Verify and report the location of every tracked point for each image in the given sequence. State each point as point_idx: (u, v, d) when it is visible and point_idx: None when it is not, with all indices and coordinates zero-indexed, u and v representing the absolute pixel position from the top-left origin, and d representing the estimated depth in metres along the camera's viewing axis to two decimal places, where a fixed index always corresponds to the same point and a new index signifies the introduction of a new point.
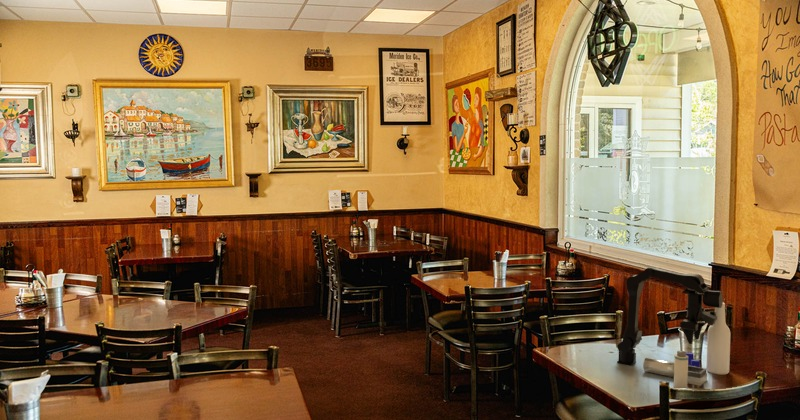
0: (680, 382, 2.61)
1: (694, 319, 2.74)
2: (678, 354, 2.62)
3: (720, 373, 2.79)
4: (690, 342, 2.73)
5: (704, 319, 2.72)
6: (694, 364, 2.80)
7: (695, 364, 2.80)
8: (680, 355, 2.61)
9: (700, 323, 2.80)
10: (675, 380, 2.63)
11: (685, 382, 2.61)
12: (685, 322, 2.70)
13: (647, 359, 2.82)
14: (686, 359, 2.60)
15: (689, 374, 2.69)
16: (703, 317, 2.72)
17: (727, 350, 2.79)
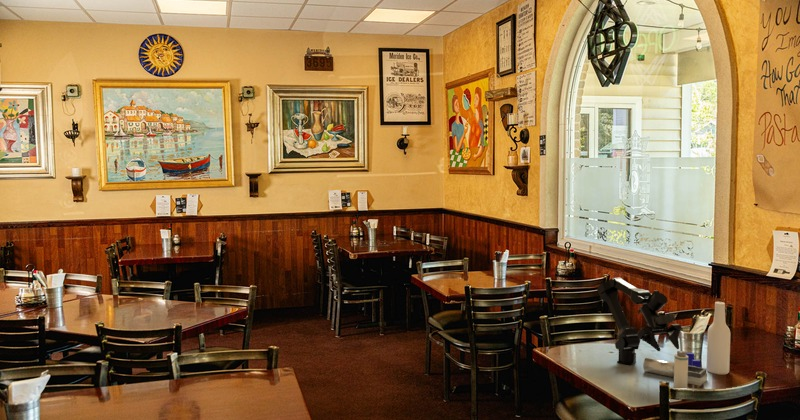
0: (680, 382, 2.61)
1: (653, 327, 2.75)
2: (678, 354, 2.62)
3: (720, 373, 2.79)
4: (658, 348, 2.69)
5: (658, 322, 2.72)
6: (695, 364, 2.80)
7: (696, 364, 2.80)
8: (680, 355, 2.61)
9: (673, 332, 2.75)
10: (675, 380, 2.63)
11: (685, 382, 2.61)
12: None
13: (647, 359, 2.82)
14: (686, 359, 2.60)
15: (689, 374, 2.69)
16: (656, 320, 2.73)
17: (727, 350, 2.79)
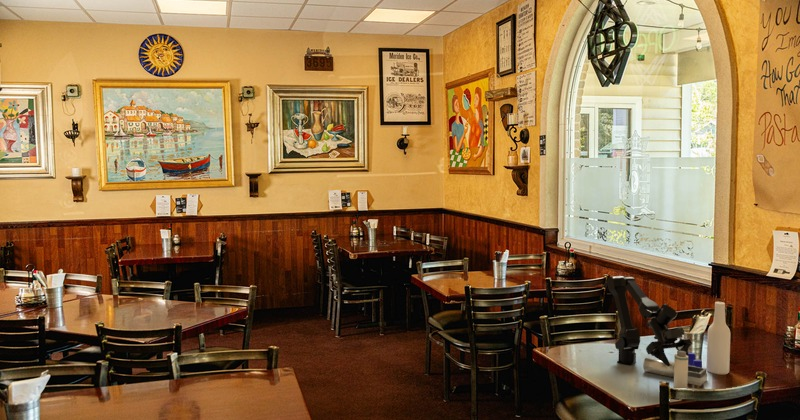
0: (680, 382, 2.61)
1: (662, 342, 2.69)
2: (678, 354, 2.62)
3: (720, 373, 2.79)
4: (668, 363, 2.63)
5: (667, 336, 2.67)
6: (696, 364, 2.80)
7: (697, 364, 2.80)
8: (680, 355, 2.61)
9: (682, 347, 2.69)
10: (675, 380, 2.63)
11: (685, 382, 2.61)
12: (647, 346, 2.68)
13: (647, 359, 2.82)
14: (686, 359, 2.60)
15: (689, 374, 2.69)
16: (665, 335, 2.67)
17: (727, 350, 2.79)
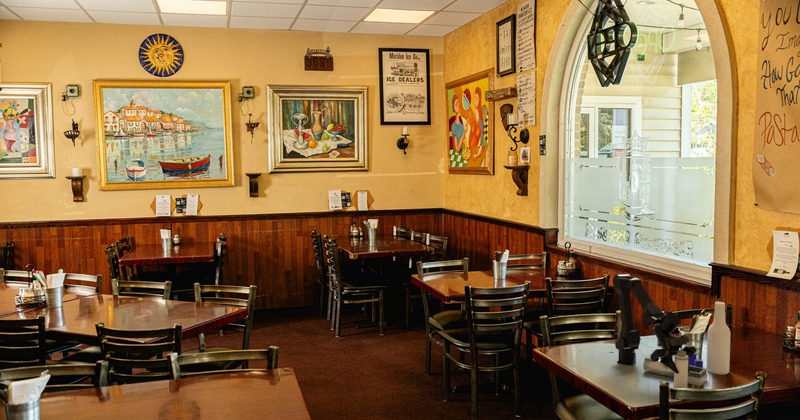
0: (680, 382, 2.61)
1: (667, 349, 2.67)
2: (678, 354, 2.62)
3: (720, 373, 2.79)
4: (676, 371, 2.61)
5: (671, 343, 2.64)
6: (697, 364, 2.80)
7: (698, 364, 2.80)
8: (680, 355, 2.61)
9: None
10: (675, 380, 2.63)
11: (685, 382, 2.61)
12: (652, 353, 2.66)
13: (647, 359, 2.82)
14: (686, 359, 2.60)
15: (689, 374, 2.69)
16: (670, 342, 2.65)
17: (727, 350, 2.79)
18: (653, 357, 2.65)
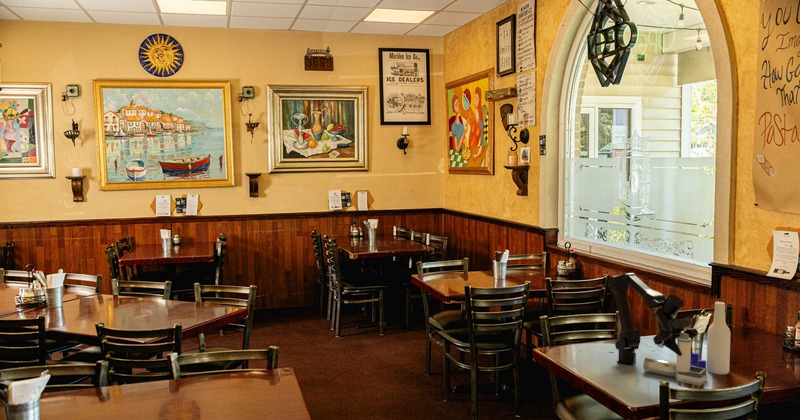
0: (683, 364, 2.62)
1: (669, 332, 2.67)
2: (681, 336, 2.62)
3: (720, 373, 2.79)
4: (679, 353, 2.62)
5: (674, 326, 2.65)
6: (701, 364, 2.79)
7: (702, 364, 2.79)
8: (683, 337, 2.62)
9: None
10: (678, 362, 2.63)
11: (688, 364, 2.62)
12: (655, 336, 2.66)
13: (647, 359, 2.82)
14: (689, 341, 2.61)
15: (689, 374, 2.69)
16: (673, 325, 2.65)
17: (727, 350, 2.79)
18: (656, 340, 2.65)
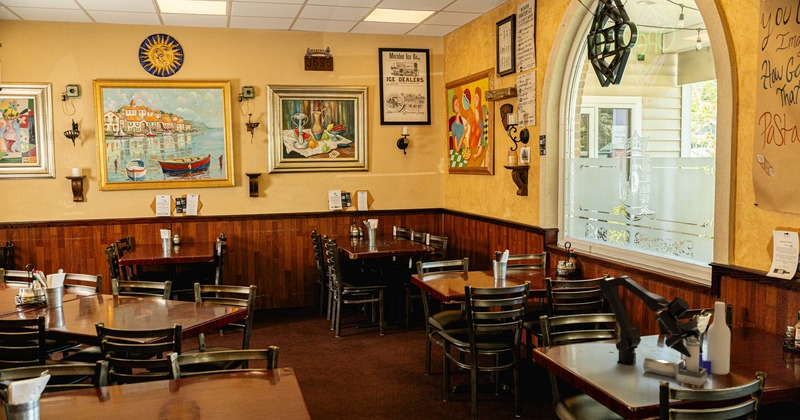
0: (694, 368, 2.69)
1: (678, 334, 2.73)
2: (691, 341, 2.70)
3: (720, 373, 2.79)
4: (688, 355, 2.68)
5: (684, 328, 2.71)
6: (706, 364, 2.79)
7: (707, 364, 2.79)
8: (693, 342, 2.70)
9: (693, 337, 2.76)
10: (689, 366, 2.70)
11: (698, 367, 2.70)
12: (667, 339, 2.70)
13: (647, 359, 2.82)
14: (699, 345, 2.69)
15: (689, 374, 2.69)
16: (682, 326, 2.72)
17: (727, 350, 2.79)
18: (669, 343, 2.69)
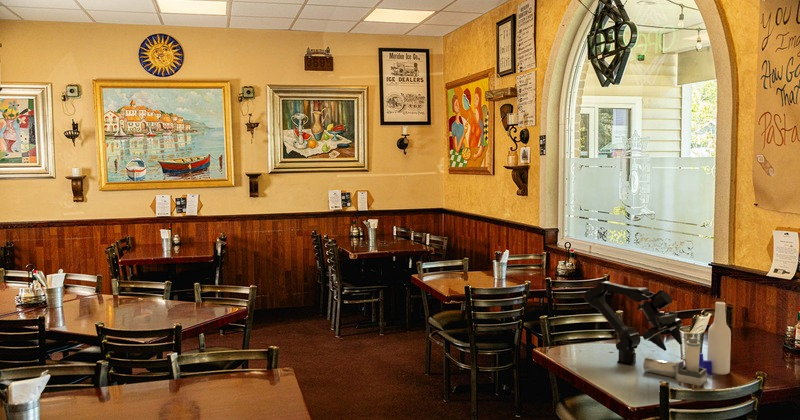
0: (694, 368, 2.69)
1: (657, 326, 2.81)
2: (691, 341, 2.70)
3: (720, 373, 2.79)
4: (664, 348, 2.76)
5: (662, 322, 2.78)
6: (706, 364, 2.79)
7: (707, 364, 2.79)
8: (693, 342, 2.69)
9: (674, 328, 2.83)
10: (689, 366, 2.70)
11: (698, 367, 2.70)
12: (644, 333, 2.79)
13: (647, 359, 2.82)
14: (699, 345, 2.69)
15: (689, 374, 2.69)
16: (660, 320, 2.79)
17: (727, 350, 2.79)
18: (646, 336, 2.78)
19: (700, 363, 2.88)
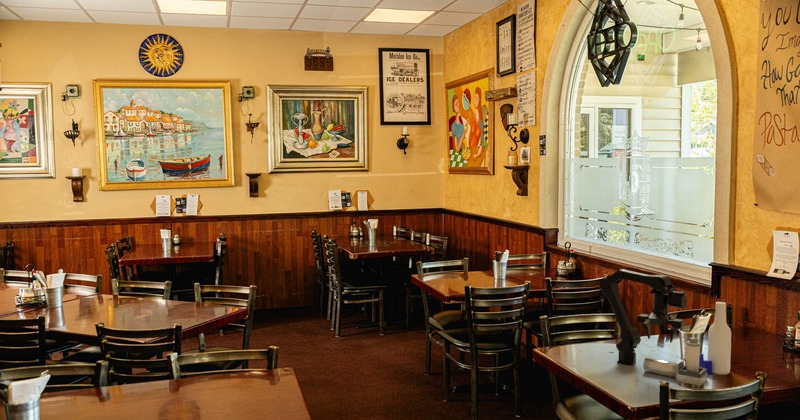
0: (694, 368, 2.69)
1: None
2: (691, 341, 2.70)
3: (721, 373, 2.79)
4: None
5: None
6: (707, 364, 2.79)
7: (708, 364, 2.79)
8: (693, 342, 2.69)
9: None
10: (689, 366, 2.70)
11: (698, 367, 2.70)
12: (640, 315, 2.90)
13: (647, 359, 2.82)
14: (699, 345, 2.69)
15: (689, 374, 2.69)
16: None
17: (728, 350, 2.79)
18: None
19: (700, 363, 2.88)
